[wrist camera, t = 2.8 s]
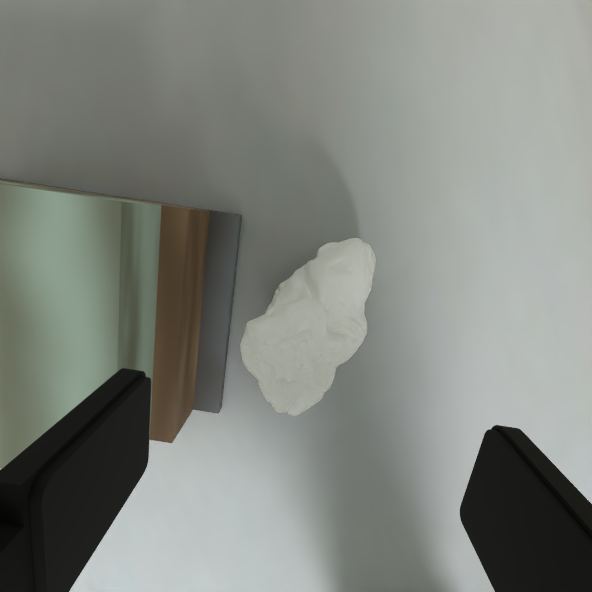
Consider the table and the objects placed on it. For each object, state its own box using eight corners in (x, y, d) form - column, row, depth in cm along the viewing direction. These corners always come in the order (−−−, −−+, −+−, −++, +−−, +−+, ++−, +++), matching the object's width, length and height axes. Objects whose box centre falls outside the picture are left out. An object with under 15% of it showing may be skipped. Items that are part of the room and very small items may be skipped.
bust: (340, 230, 25) (222, 189, 17) (436, 266, 21) (346, 236, 12) (288, 368, 28) (163, 397, 19) (364, 425, 24) (247, 495, 15)
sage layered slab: (241, 215, 23) (200, 213, 15) (221, 407, 27) (178, 497, 18) (-13, 176, 24) (-199, 153, 15) (0, 372, 27) (-146, 444, 18)
